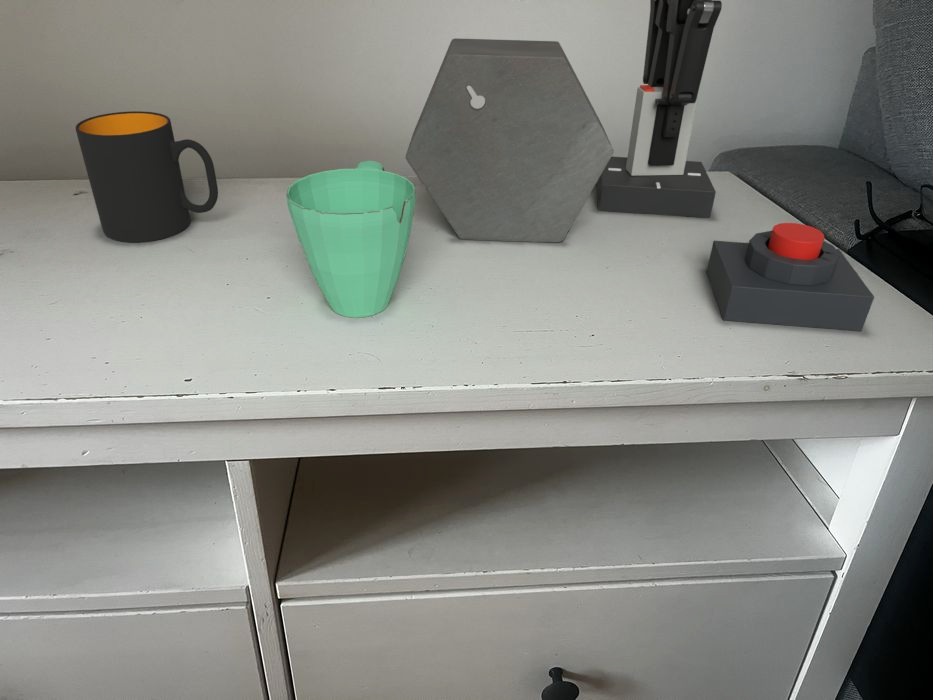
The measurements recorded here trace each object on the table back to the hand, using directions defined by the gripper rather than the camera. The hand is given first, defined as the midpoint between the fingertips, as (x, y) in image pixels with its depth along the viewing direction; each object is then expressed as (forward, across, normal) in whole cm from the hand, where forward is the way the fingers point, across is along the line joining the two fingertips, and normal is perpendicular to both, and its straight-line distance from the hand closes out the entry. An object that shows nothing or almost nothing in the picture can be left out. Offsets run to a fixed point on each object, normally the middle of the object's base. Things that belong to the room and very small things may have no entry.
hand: (656, 159), depth 80 cm
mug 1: (+5, +5, -53) cm, 53 cm away
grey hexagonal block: (+5, +7, -18) cm, 20 cm away
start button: (0, +24, +4) cm, 25 cm away
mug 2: (+5, +20, -32) cm, 38 cm away
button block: (+4, +24, +4) cm, 25 cm away
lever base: (+4, 0, 0) cm, 4 cm away
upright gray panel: (+1, 0, 0) cm, 1 cm away
